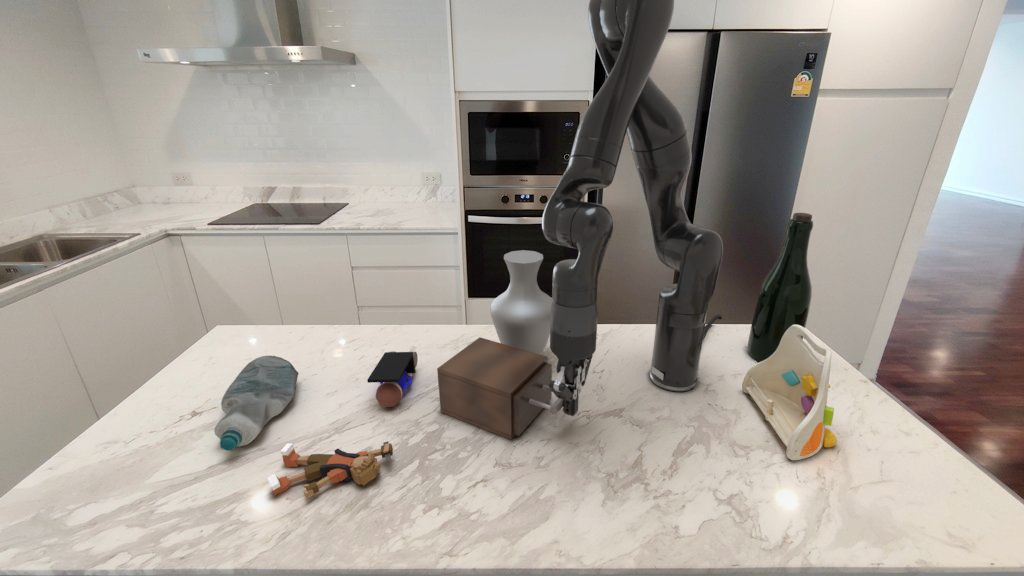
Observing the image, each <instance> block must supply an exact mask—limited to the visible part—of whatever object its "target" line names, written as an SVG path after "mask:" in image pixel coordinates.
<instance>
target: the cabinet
mask: <svg viewBox="0 0 1024 576" xmlns="http://www.w3.org/2000/svg"><path fill="white" fill-rule="evenodd" d="M546 363H549V357H548V356H546V355H543V354H542V355H540V354H536V353H533V352H529V351H526V350H522V349H519V348H515V347H512V346H508V345H505V344H501V342H498V341H494V340H491V339H487V338H483V337H480V336H479V337H478V338H476V339H475V340H474V341H473V342H471V343H470V344H468V345H467V346H465V347H464V348H463V349H462V350H460V351H459V352H457V353H456V354H455V355H453V356H452V357H450V358H449V359H448V360H447V361H445V362H444V363H442V364H441V365H439V366H438V367H437V368H436V371H437V382H438V383H437V384H438V395H439V404H440V405H439V408H440V413H443V414H445V415H447V416H450V417H452V418H455V419H457V420H460V421H462V422H465V423H467V424H470V425H472V426H475V427H477V428H480V429H482V430H484V431H488V432H490V433H493V434H495V435H497V436H500V437H502V438H505V439H507V440H510V441H512V440H513V439H514V438H515V437H516V435H515V434H513V395H514V394H515V393H516V392H517V391H518V390H519V389H520V388H521V387H522V386H523V385H524V384H525V383H526V382H527V381H528V380H529V379H530V378H531V377H532V376H533V375H534V374H535V373H536V372H537V371H539V370H540V369H541V368H542V367H543V366H544V365H545V364H546Z"/></svg>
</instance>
